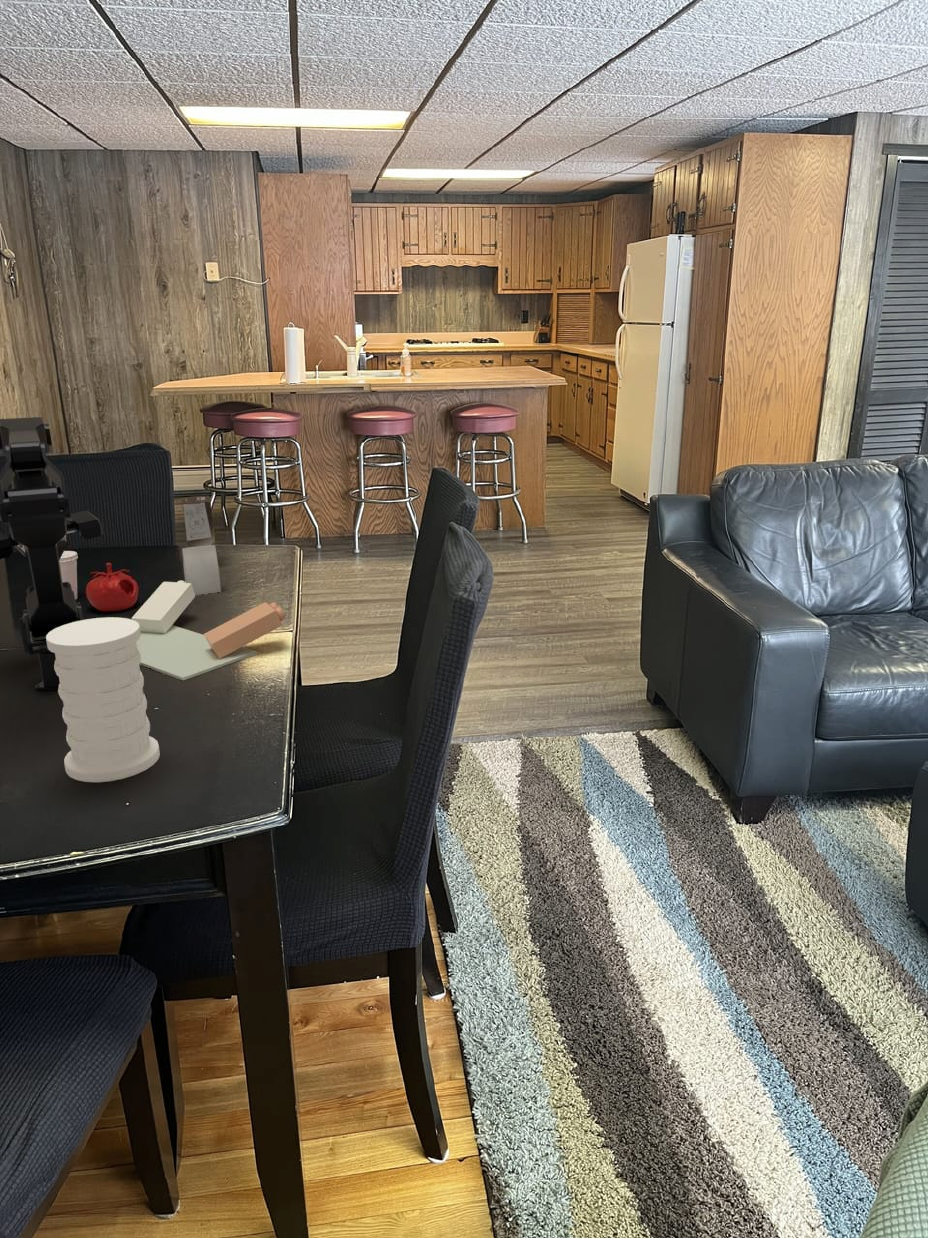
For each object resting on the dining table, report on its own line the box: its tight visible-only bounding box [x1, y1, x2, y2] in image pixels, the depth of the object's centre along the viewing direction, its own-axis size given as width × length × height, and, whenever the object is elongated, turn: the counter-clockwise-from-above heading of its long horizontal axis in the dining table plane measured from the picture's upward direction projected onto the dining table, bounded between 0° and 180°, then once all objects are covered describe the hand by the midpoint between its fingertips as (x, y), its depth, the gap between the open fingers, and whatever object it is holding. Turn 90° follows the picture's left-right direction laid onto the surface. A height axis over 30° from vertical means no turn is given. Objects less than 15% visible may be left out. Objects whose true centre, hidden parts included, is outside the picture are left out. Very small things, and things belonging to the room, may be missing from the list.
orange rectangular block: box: [203, 601, 287, 659], centre depth 154 cm, size 3×6×13 cm
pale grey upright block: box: [181, 544, 222, 596], centre depth 189 cm, size 4×7×10 cm, turn 113°
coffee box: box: [181, 495, 216, 548], centre depth 210 cm, size 9×6×16 cm
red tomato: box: [85, 562, 139, 613], centre depth 179 cm, size 10×10×9 cm
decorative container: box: [45, 616, 161, 783], centre depth 113 cm, size 12×12×18 cm
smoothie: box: [59, 550, 79, 601], centre depth 185 cm, size 6×6×14 cm
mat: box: [136, 624, 258, 681], centre depth 156 cm, size 15×29×1 cm, turn 52°
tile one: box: [130, 580, 196, 633], centre depth 168 cm, size 3×6×13 cm
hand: (47, 580), depth 150 cm, fingers closed
